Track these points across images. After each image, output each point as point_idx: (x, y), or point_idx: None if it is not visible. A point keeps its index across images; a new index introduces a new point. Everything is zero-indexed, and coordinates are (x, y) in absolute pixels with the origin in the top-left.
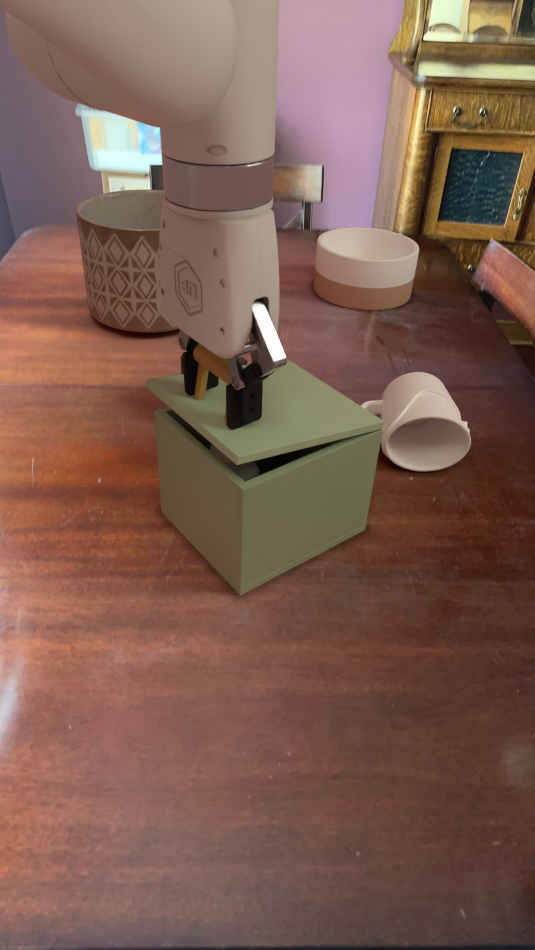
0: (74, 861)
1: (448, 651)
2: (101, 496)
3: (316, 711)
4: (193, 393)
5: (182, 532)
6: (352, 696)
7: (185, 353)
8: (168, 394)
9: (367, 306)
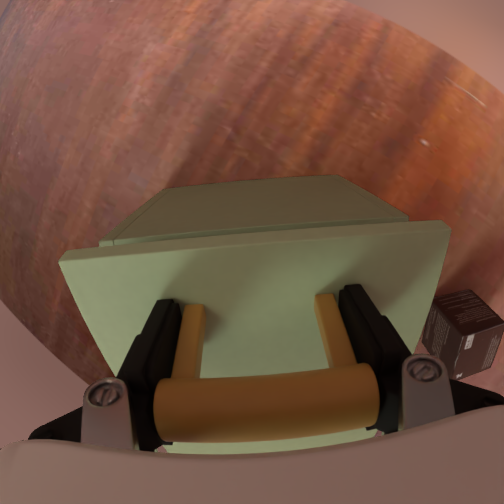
0: (33, 3)
1: (53, 309)
2: (399, 128)
3: (35, 189)
4: (339, 296)
5: (286, 177)
6: (37, 222)
7: (393, 355)
8: (371, 243)
9: None
